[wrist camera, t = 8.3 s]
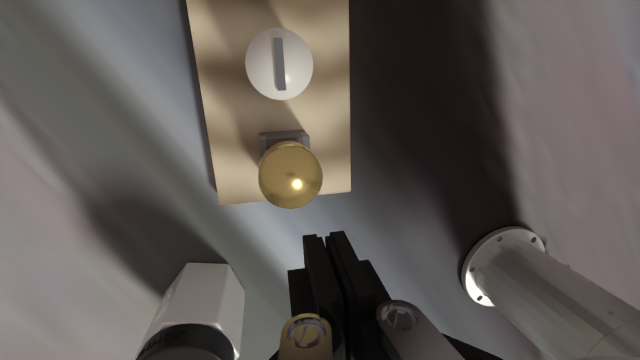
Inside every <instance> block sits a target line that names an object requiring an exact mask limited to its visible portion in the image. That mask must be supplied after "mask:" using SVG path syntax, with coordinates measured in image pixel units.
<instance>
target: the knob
mask: <svg viewBox="0 0 640 360" xmlns="http://www.w3.org/2000/svg"><path fill="white" fill-rule="evenodd" d="M322 182H323V172H322V168H321V165H320V163H319V162H318V160H317V159H316V157H315V156H314V154H313V153H312V152H311V150H310V149H309V148H307V147H306V146H305V145H303V144H301V143H298V142H295V141H282V142H279V143H276V144H274V145H273V146H271V147H270V148H268V149H267V150H266V151H265V153H264V154H263V156H262V158H261V160H260V163H259V173H258V183H259V187H260V190H261V192H262V194H263V195H264V197H265V198H266V199H267V200H268V201H269V202H270V203H272V204H274V205H276V206H278V207H281V208H286V209H294V208H299V207H302V206H304V205H306V204H308V203H309V202H311V201H312V200H313V199H314V198H315V197H316V196H317V194H318V193H319V191H320V189H321V186H322Z"/></svg>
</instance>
